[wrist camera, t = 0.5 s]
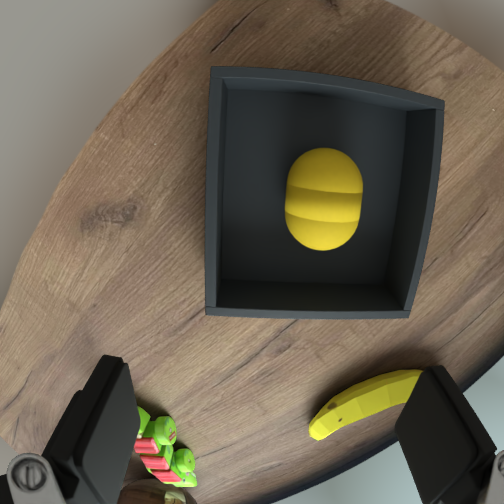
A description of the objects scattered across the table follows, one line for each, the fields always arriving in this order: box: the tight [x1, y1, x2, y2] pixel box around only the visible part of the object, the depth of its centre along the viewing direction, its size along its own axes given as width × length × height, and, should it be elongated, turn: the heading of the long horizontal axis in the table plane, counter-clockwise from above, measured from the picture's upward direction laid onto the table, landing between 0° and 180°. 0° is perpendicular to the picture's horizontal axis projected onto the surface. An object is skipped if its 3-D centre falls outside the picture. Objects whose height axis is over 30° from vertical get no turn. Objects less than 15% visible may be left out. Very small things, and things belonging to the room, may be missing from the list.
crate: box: [205, 66, 445, 319], centre depth 23 cm, size 18×17×6 cm
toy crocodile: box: [134, 406, 197, 487], centre depth 35 cm, size 20×7×6 cm, turn 12°
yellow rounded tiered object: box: [285, 148, 363, 250], centre depth 23 cm, size 8×6×6 cm
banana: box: [308, 369, 423, 441], centre depth 34 cm, size 5×17×15 cm
